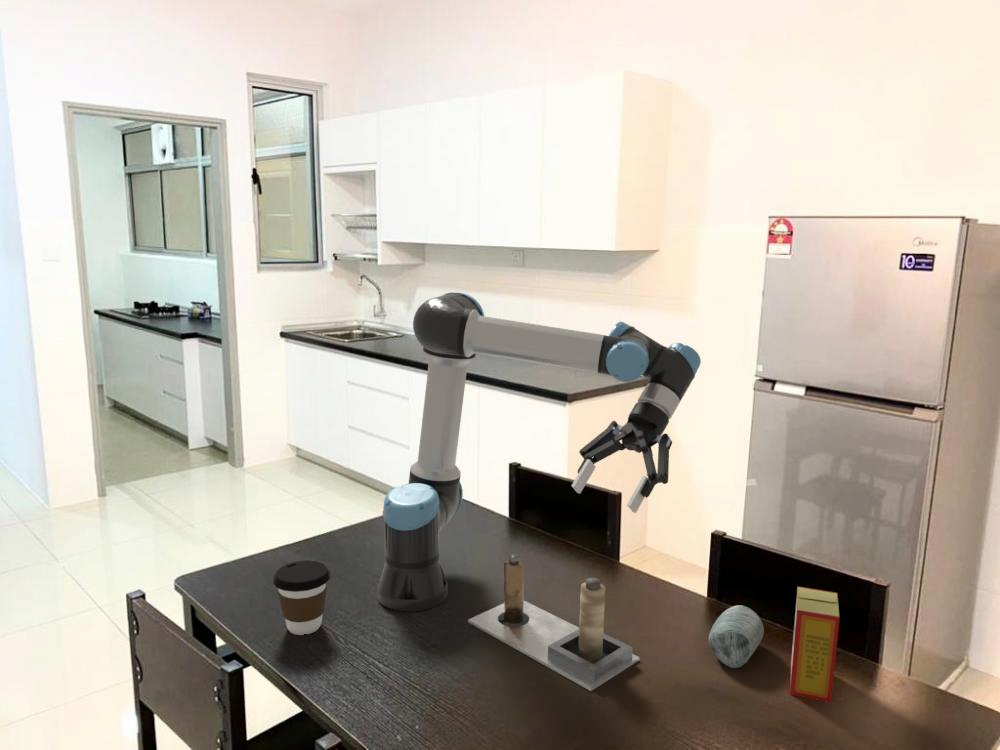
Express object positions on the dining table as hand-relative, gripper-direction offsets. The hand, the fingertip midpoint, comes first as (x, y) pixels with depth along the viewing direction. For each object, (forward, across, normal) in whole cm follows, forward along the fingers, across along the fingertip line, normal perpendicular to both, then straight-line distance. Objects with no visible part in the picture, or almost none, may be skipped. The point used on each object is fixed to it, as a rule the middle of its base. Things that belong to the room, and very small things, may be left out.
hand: (602, 499), depth 146 cm
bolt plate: (+26, +4, -13) cm, 29 cm away
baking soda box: (+10, -37, -29) cm, 48 cm away
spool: (+10, -23, -28) cm, 38 cm away
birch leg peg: (+26, -6, -12) cm, 29 cm away
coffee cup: (+50, +40, +9) cm, 65 cm away
